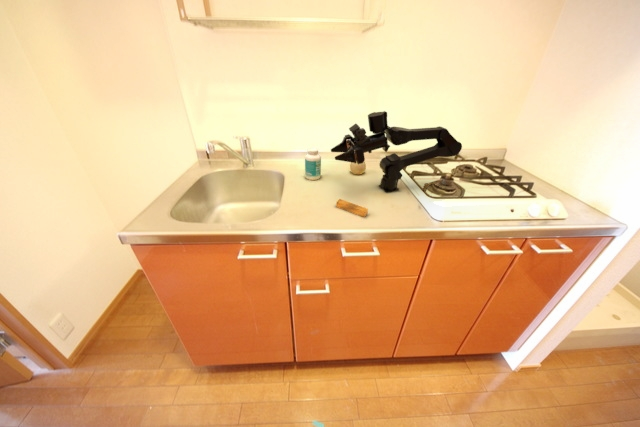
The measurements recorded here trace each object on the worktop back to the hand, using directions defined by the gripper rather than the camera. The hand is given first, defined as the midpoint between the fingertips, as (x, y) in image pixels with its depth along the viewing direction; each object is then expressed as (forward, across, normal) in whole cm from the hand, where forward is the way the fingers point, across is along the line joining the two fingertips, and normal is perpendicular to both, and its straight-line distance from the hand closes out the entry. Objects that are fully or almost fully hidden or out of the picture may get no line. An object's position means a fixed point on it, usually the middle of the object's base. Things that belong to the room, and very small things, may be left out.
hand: (332, 154), depth 89 cm
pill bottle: (+11, -15, +14) cm, 23 cm away
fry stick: (0, +16, +17) cm, 23 cm away
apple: (-12, -18, +20) cm, 30 cm away
